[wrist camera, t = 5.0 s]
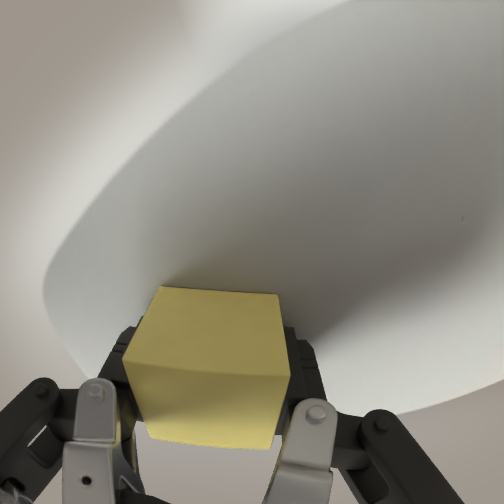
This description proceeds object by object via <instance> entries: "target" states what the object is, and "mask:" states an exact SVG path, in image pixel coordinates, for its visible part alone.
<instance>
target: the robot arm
mask: <svg viewBox="0 0 504 504" xmlns="http://www.w3.org/2000/svg"><path fill="white" fill-rule="evenodd" d="M142 318H143V316H142V317H141V319H140V321H139V323H138V325H137V326H136V327H132V326H130V327H128V328H127V329H126V330H125V331H123V332H122V333H121V334H120V336H119V338H118V340H117V341H116V344H115V345H114V347H113V349H112V351H111V352H110V354H109V356H108V358H107V360H106V362H105V364H104V365H103V367H102V369H101V371H100V373H99V375H98V377H97V378H93V379H90V380H88V381H86V382H84V383H83V384H82V385H81V387H80V388H79V389H59V388H58V386H57V384H56V383H55V382H54V381H53V380H52V379H50V378H38V379H36V380H34V381H32V382H31V383H30V384H29V385H28V386H27V387H26V388H25V389H24V390H23V391H21V392H20V393H19V394H18V395H17V396H16V397H15V398H14V399H13V400H12V401H11V402H10V403H9V404H8V405H7V406H6V407H5V408H4V409H3V410H2V411H1V412H0V504H33V502H34V501H35V500H36V498H37V497H38V496H39V495H40V494H41V492H42V491H43V490H44V489H45V487H46V486H47V485H48V484H49V482H50V481H51V480H52V479H53V477H54V476H55V475H56V474H57V472H58V471H59V470H60V469H61V467H62V504H170V503H168V502H165V501H163V500H160V499H158V498H156V497H153V496H149V495H146V494H145V490H144V486H143V483H142V480H141V478H140V474H139V467H138V459H137V449H136V437H135V431H134V426H135V423H136V421H141V422H144V421H143V418H142V416H141V413H140V410H139V408H138V405H137V403H136V400H135V397H134V394H133V392H132V389H131V386H130V383H129V380H128V377H127V374H126V371H125V368H124V364H123V361H122V358H123V356H124V354H125V352H126V350H127V348H128V346H129V344H130V342H131V340H132V338H133V336H134V334H135V332H136V330H137V328H138V326H139V324H140V322H141V320H142ZM283 329H284V336H285V342H286V348H287V355H288V361H289V368H290V379H289V383H288V387H287V391H286V395H285V399H284V402H283V406H282V410H281V414H280V417H279V421H278V424H277V428H276V431H275V435H282V447H281V450H280V453H279V456H278V459H277V462H276V465H275V468H274V471H273V474H272V477H271V481H270V483H269V486H268V489H267V491H266V494H265V497H264V499H263V502H262V504H328V502H329V497H330V493H331V488H332V483H333V472H332V471H331V470H330V467H333V468H338V469H339V471H340V473H341V475H342V476H343V478H344V480H345V481H346V483H347V485H348V486H349V488H350V490H351V491H352V493H353V495H354V496H355V498H356V500H357V501H358V503H359V504H464V502H463V501H462V500H461V498H460V497H459V496H458V495H457V493H456V492H455V491H454V489H453V488H452V487H451V485H450V484H449V483H448V482H447V480H446V479H445V478H444V476H443V475H442V474H441V472H440V471H439V470H438V469H437V467H436V466H435V465H434V464H433V463H432V461H431V460H430V458H429V457H428V456H427V454H426V453H425V452H424V451H423V450H422V448H421V447H420V446H419V444H418V443H417V442H416V441H415V439H414V438H413V437H412V435H411V434H410V433H409V432H408V430H407V429H406V428H405V426H404V425H403V424H402V423H401V421H400V420H399V419H398V418H397V417H396V415H394V414H393V413H391V412H389V411H387V410H382V409H377V410H373V411H370V412H369V413H367V414H366V415H365V416H364V417H358V416H352V415H346V414H343V413H340V412H338V411H336V409H335V408H334V406H333V405H332V404H330V403H329V402H328V401H327V399H326V395H325V391H324V387H323V383H322V379H321V375H320V372H319V369H318V364H317V361H316V356H315V353H314V349H313V348H312V346H311V345H310V344H309V343H308V342H307V341H306V340H296V336H295V331H294V328H293V327H283ZM45 425H46V426H47V427H46V429H45V430H44V431H43V432H42V433H41V434H40V435H39V436H38V437H37V438H36V440H35V441H34V442H33V443H32V444H31V445H30V446H29V447H27V446H28V444H29V443H30V441H32V439H33V438H34V437H35V436H36V435H37V434H38V433H39V432H40V431H41V430H42V428H43V427H44V426H45Z"/></svg>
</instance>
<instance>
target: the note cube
mask: <svg viewBox="0 0 504 504" xmlns="http://www.w3.org/2000/svg"><path fill="white" fill-rule="evenodd" d="M122 361H123V364H124V368H125V371H126V374H127V377H128V380H129V383H130V386H131V389H132V392H133V394H134V397H135V400H136V403H137V405H138V408H139V410H140V413H141V416H142V418H143V421H144V423H145V425H146V428H147V430H148V432H149V435H150V437H151V438H154V439H159V440H164V441H170V442H177V443H184V444H191V445H200V446H209V447H221V448H236V449H270V448H271V445H272V442H273V438H274V435H275V431H276V428H277V424H278V421H279V417H280V414H281V410H282V406H283V402H284V399H285V395H286V391H287V387H288V383H289V379H290V368H289V361H288V355H287V348H286V342H285V336H284V329H283V323H282V317H281V311H280V304H279V298H278V295H277V294H261V293H243V292H227V291H213V290H200V289H187V288H175V287H164V286H160V287H159V289H158V290H157V292H156V294H155V296H154V298H153V300H152V301H151V303H150V305H149V307H148V309H147V311H146V313H145V315H144V316H143V318H142V320H141V322H140V324H139V326H138V328H137V330H136V332H135V334H134V336H133V338H132V340H131V342H130V344H129V346H128V348H127V350H126V352H125V354H124V356H123V358H122Z"/></svg>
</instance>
